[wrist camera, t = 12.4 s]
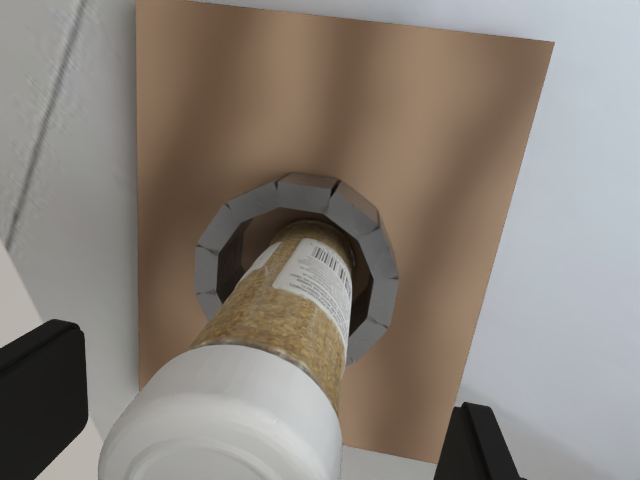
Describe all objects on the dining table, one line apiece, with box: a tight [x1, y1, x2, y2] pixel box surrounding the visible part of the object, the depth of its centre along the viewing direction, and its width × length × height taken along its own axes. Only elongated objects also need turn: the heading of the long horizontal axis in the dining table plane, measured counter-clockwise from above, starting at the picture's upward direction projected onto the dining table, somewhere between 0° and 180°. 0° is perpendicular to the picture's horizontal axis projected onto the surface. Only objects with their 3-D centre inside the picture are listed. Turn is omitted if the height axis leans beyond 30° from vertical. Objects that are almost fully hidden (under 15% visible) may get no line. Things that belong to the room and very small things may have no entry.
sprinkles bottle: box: [98, 219, 356, 480], centre depth 13 cm, size 5×5×13 cm
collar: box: [194, 172, 399, 366], centre depth 18 cm, size 9×9×4 cm
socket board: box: [136, 0, 555, 464], centre depth 20 cm, size 18×22×2 cm
